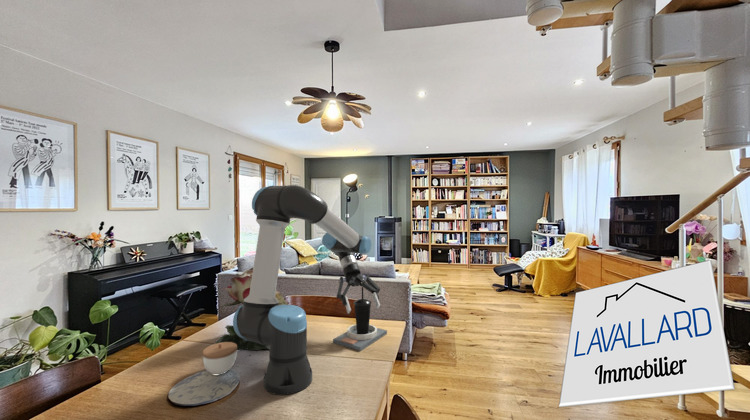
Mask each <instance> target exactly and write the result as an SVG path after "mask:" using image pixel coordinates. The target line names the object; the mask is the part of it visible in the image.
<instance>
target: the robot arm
mask: <svg viewBox="0 0 750 420" xmlns="http://www.w3.org/2000/svg"><path fill="white" fill-rule="evenodd" d="M251 199H252V200H251V209H252V210H253V213H254V215H255V216H256V219H255V221H256V222H257V224H258V225H259V228H258V235H257V236H258V237H257V243H256V248H255V255H254V260H253V261H254V263H253V267H252V268H253V273H252V280H251V286H250V293H249V295H248V296H247V297H246V298H245V299H244V301H243V304H241V305H240V306H239V307H238V308H237V310H236V311H235V312H234V314H233V317H232V318H233V319H232V326H233V327H234V330H235V332H236V334H237V335H238V336H239V337H241V338H244V339H245V340H247V341H252V342H256V343H259V344H263V345H267V346H269V349H268V353H269V354H268V355H269V357H268V358H269V359H268V363H267V368H266V372H265V373H264V376H263V388H264V390H265V391H267V393H270V394H274V395H291V394H294V393H298V392H300V391H303V390H305V389H306V388H308V387H309V385H310V384H311V383H312V381H313V370H312V367H311V364H310V361H309V358H308V355H307V351H308V350H307V348H308V347H307V344H308V343H307V341H308V337H307V335H308V333H307V332H308V329H307V328H308V320H307V314H306V311H305V310H304V308H301V307H300V306H297V305H294V304H288V305H278V304H279V301H278V300H277V298H276V297H275V293H276V291H277V284H278V277H279V273H280V272H279V271H280V266H281V265H280V262H281V256H282V250H283V242H284V235H285V229H286V228H287V227H288V226H290V224H291V219H297V220H304V221H306V222H307V223H308V224H310V225H316V226H318V228H320V229H322V230H323V231H325V233H324V234H323V236H322V238H321V243H322V246H324V247H325V249H327V250H329V251H331V252H332V253H333V254H334V255H336V256H337V257H338V259H339V262H340V265H341V269H342V274H343V276H344V277H343V276H340V278H339V279H338V284H339V286H338V288H337V293H336V299H339V300H340V301H341V302H342V306H345V308H346V313H347V314H351V311H352V308H351V306H350V302H349V299H348V296H347V293H348V291H349V289H350V287H353V288H354V287H359V286H360V287H361V288H362V287H363V289H365V290H366V291H368V292H370V293H371V294H372V295H371V297H372V299H373V302H374V305H375V307H376V309H377V310H378V309H379V308H380V307H381V303H380V301H379V300H380V296H379V293H380V291H381V288H380V287H379V285H377V284H376V282H374V280H372V278H371V277H370V275H369V273H365V275H363V274H362V272H361V269H360V266H359V265H358V261H357V258H356V256H355V254H360V255H361V254H364V255H365V254H368V253H369V252H370V251H371V249H372V240H371V238H370V237H369V236H366V235H360V234H359V233H358V232H356V230H354V229H353V228H352V227H351V226H349V225H348V223H346V222H345V221H344V220H342V218H340V217H339V216H338V215H337V214H335V212H333V211H332V210H331V209H330V207H329V206H328V204H327V202H326V201H325V200H324V199H322V198H321V197H320V196H319V195H317V194H316V193H315V192H313V191H311V190H310V189H307V188H306V187H303V186H300V185H297V184H290V185H289V184H288V185H268V186H264V187H261V188H259V189H258V190H257V191H256V192H255V193H254V195H253V197H252V198H251ZM345 282H346V283H347V285H346V287H345V288H344V291H343V292H342V290H343V285H344V283H345Z"/></svg>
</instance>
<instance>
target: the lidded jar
mask: <svg viewBox="0 0 750 420" xmlns="http://www.w3.org/2000/svg"><path fill="white" fill-rule="evenodd" d="M237 353H238V350H237V345H236V344H235V343H232V342H222V343H217V344H216V343H214V344H210V345H209V346H206V347H205V348H204V349H203V350H202V362H203V366H204V369H205V370H206V371H207V372H208V373H210V374H211V373H212V374H221V373H224V372H227V371H228V370H229V371H230V370H231V369H232V367H233V366H234V365H235V362H236V361H237V356H238V355H237ZM229 371H228V372H229ZM228 372H227V373H228ZM212 374H211V375H212Z"/></svg>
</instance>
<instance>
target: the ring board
mask: <svg viewBox="0 0 750 420" xmlns="http://www.w3.org/2000/svg"><path fill="white" fill-rule="evenodd" d="M387 334H388V330H387V329H382V328H380V327H379V328H378V327H376V326H375V325H374V324H370V323H369V331H368V334H357V327H356V323H355V324H352V325H350V326H348V327H347V330H346V332H343V333H342V334H340V335H338V336H336V337H334V338H332V343H333V344H336V345H339V346H343V347H345V348H349V349H353V350H356V351H360V352H361V351H363V350H365V348H368V347H369V346H370V345H372V344H373V343H375V342H377V341H379V339H382V338H383V337H384V336H386V335H387Z"/></svg>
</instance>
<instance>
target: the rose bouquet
mask: <svg viewBox="0 0 750 420" xmlns="http://www.w3.org/2000/svg"><path fill="white" fill-rule="evenodd" d="M252 273H253V267H251V268H249V269H247V270H244V271H243V272H242V273H241V274H239V273H236V274H235V276H234V277H231V278H230V283H231V282H232V284H231V285H227V287H222V288H221V290H225V291H227V293H228V295H229V297H230V298H232V299H233V300H234V301H233V302H227V303H224V304H222V305H220V308H223V307H229V306H237V305H240V304H241V305H243V301H244V299H245V298H246V297H247V296H248V295H249V293H250V286H251V280H252ZM275 297H276V298H277V300H278V301H279V304H278V305H290V302H289V301H287V300H285V298H284V297H283V295H282V294H281V293H280V291H278V290H276V293H275ZM224 328H225V329H226V331H227V333H228V334H226V333H224V334H223V335H221V337H220V338H218V339H216V341H215V344H217V343H222V342H232V343H235V344H236V345H237V351H242V350H243V351H244V350H249V351H262V350H269V346H267V345H263V344H259V343H256V342H252V341H247V340H245V339H244V338H241V337H239V336H238V335H237V334H236V332H235V330H234V327H233V325H232V324H231V325H230V324H227V325H225V327H224Z"/></svg>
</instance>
